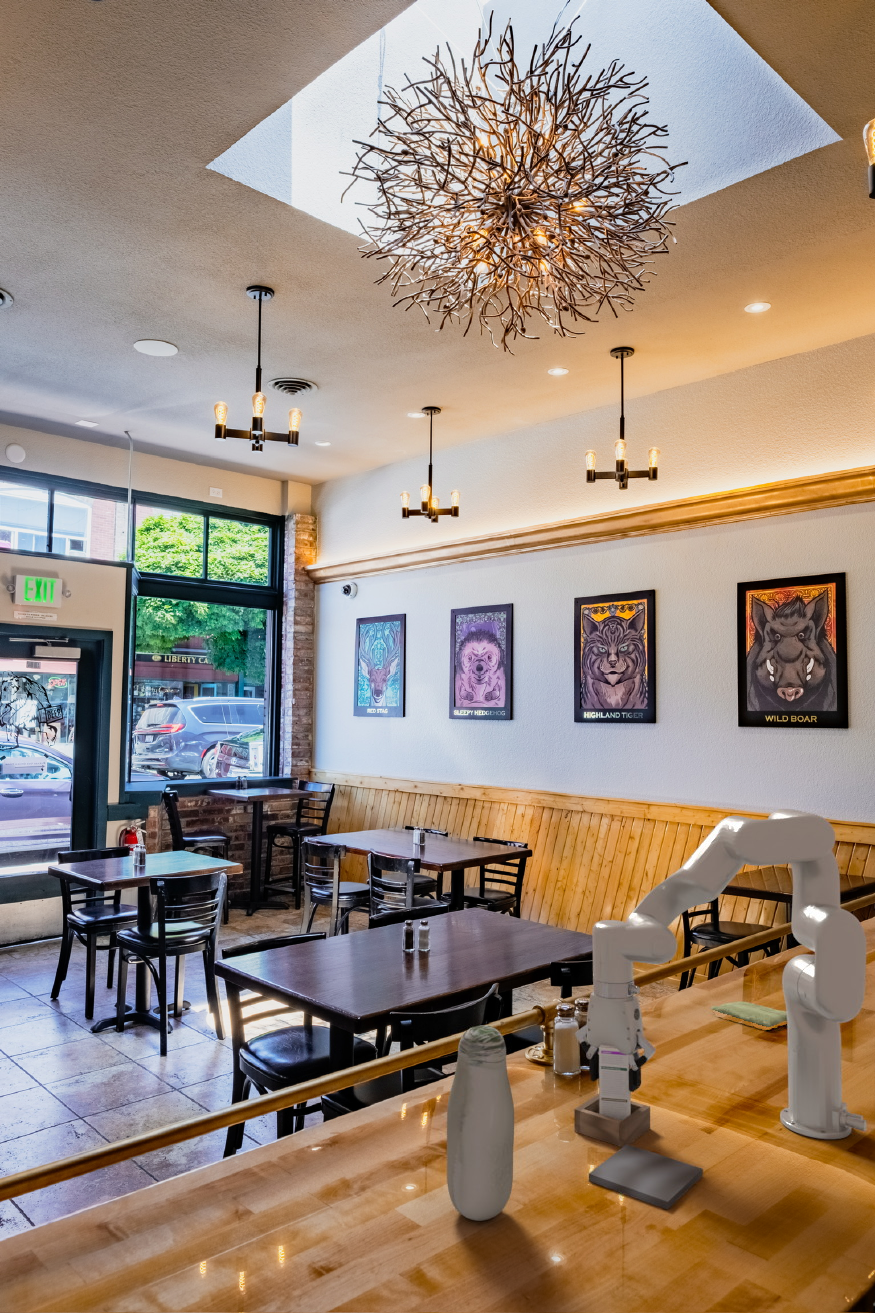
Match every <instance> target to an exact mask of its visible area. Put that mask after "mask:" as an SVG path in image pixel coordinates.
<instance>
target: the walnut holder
mask: <svg viewBox="0 0 875 1313" xmlns="http://www.w3.org/2000/svg"><path fill="white" fill-rule="evenodd" d="M573 1111H574V1119H573V1120H574V1121H573V1123H574V1128H573V1129H574V1130H573V1131H574V1132H575V1133H579V1134H582V1135H584V1136H586V1137H587V1136H588V1137H590V1138H593V1139H597V1140H599V1141H603V1142H606V1143H609V1144H612V1145H614V1146H618V1147H621V1148H623V1147H624V1146H625V1145H626V1144H630V1145H631V1144H632V1143H634V1142H635V1141H636V1140H637V1139H638V1137H639V1138H640V1137H641V1136H644V1134H645V1133H646V1132H648V1131H649V1130H651V1106H649V1105H646V1104H642V1103H639V1102H636V1101H632V1100H631V1115H630V1116H628V1117H627V1118H625V1119H624V1120H623V1121H621V1120H617V1119H614V1118H611V1117H608V1116H605V1115H601V1114H599V1093H597V1094H596V1095H594V1096H593V1097H591V1098H590V1099H588V1100H587V1101H585V1102H584V1103H582V1104H581V1105H579V1106H577V1107H576V1108H574V1110H573ZM648 1129H649V1130H648ZM633 1141H634V1142H633Z"/></svg>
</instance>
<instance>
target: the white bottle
mask: <svg viewBox="0 0 875 1313" xmlns="http://www.w3.org/2000/svg"><path fill="white" fill-rule="evenodd" d="M457 1047H458V1048H457V1049H458V1050H457V1060H456V1067H455V1072H454V1076H453V1081H452V1085H451V1087H450V1091H449V1095H448V1101H447V1109H446V1110H447V1111H446V1182H447V1190H448V1195H449V1198H450V1202H452V1203H451V1204H452V1205H453V1207H454V1208H455V1210H456V1211H457V1212H458V1213H459V1214H460V1215H461V1216H463V1217H464V1218H467V1219H469V1220H472V1221H477V1222H480V1221H486V1220H490V1219H492V1218H494V1217H497V1215H499V1214H500V1213H501V1212H502V1211H503V1210H504V1209H505V1207H506V1205H507V1204H508V1201H509V1199H510V1197H511V1193H512V1189H513V1181H514V1180H513V1179H514V1143H515V1106H514V1105H515V1104H514V1100H513V1094H512V1089H511V1085H510V1084H511V1083H510V1080H509V1076H508V1068H507V1067H508V1066H507V1047H506V1042H505V1039H504V1036H503V1035H502V1034H501V1032H500V1031H499V1030H498V1029H497V1028H495V1027H493V1026H491V1025H487V1024H486V1025H485V1024H484V1025H477V1026H472V1027H470V1028H469V1029H467V1030H466V1031H465V1032H464V1033H463V1034H462V1035H461V1038H460V1039H459V1043H458V1046H457Z"/></svg>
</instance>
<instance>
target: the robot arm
mask: <svg viewBox="0 0 875 1313" xmlns="http://www.w3.org/2000/svg"><path fill="white" fill-rule="evenodd" d="M835 844H836V833H835V830H834V828H833V826H832V824H831V823H830V822H829V821H828V820H827V819H826V818H824V817H823V816H820V815H818V814H815V813H810V812H806V811H802V810H796V809H790V808H781V809H777V810H775V811H773V812H772V813H771V814H770V815H769V816H768V817H767V819H754V818H751V817H745V816H742V815H741V816H739V815H731V816H730V815H729V816H726V817H725V818H723V819H722V820H720V821H719V822H718V824H716V825H715V827H714V828H713V829H712V830H711V832H710V833H709V834H708V835H707V836H706V838H705V839H704V840H703V841H702V842H701V843H700V845H699V846H698V847H697V848H696V849H695V851H694V852H693V853H692V854H691V856H689V858H688V859H687V860H686V861H685V862H684V864H683V865H682V866H680V868H679V869H678V870H677V871H675V872H673V873H672V874H670V875H669V876H668V877H667V878H666V879H664V880H663V881H661V882H660V883H659V884H657V885H656V886H655V887H654V888H652V889H651V890H650V891H649V892H648V893H647V894H646V895H645V896H644V898H643V899H642V900H640V902H639V903H638V905H637V906H636V907H635V908H634V909H633V911H632V912H631V913H630V914H629V916H628V917H627V919H626V921H622V920H617V919H606V920H599V921H597V922H595V923H594V925H593V926H592V934H591V935H592V982H593V984H592V986H593V987H592V989H593V990H592V992H591V993H590V996H589V1001H588V1004H587V1005H588V1006H587V1007H588V1008H587V1015H586V1024H585V1025H584V1026H582V1027H581V1028H580V1029H578V1030H576V1031H575V1033H574V1035H575V1037H576V1039H577V1040H578V1042H579V1044H580V1046H581V1048H582V1050H583V1051H584V1053H585V1054H586V1058H587V1059H588V1063H589V1064H588V1067H589V1068H588V1070H589V1072H588V1073H589V1075H590V1081H591V1082H595V1081H597V1080H599V1045H608V1046H613V1047H617V1049H618V1050H619V1051H620V1053H622V1054H625V1055H628V1060H629V1064H630V1069H629V1090H630V1091H631V1093H634V1092H636V1091H637V1090H638V1089H640V1087H641V1085H642V1068H641V1067H643V1066H644V1065H645V1064H646V1063H647V1062H649V1060H650V1059H651V1058H652V1057H653V1056H654V1054H655V1053H656V1048H655V1047H654V1045H652V1044H651V1042H650V1041H649V1040H648V1039H647V1038H646V1037H645V1035H644V1025H643V1017H642V1011H641V1005H640V1001H639V997H638V996H636V995H638V994H639V993H640V991H641V990H640V989H641V988H640V987H639V986H637V985H635V980H634V963H642V964H649V965H662V964H665V963H668V962H669V961H671V960H672V959H673V958H674V957H675V955H676V953H677V951H678V941H677V938H676V936H675V934H674V933H673V931H672V930H671V929H670V928H669V927H670V925H671V924H672V923H673V922H674V921H675V920H676V919H677V918H678V917H679V916H680V915H681V914H683V913H684V912H686V911H688V910H689V909H692V908H694V907H697V906H700V905H704V904H707V903H710V902H712V901H714V900H716V899H717V898H719V896H720V895H721V894H722V893H723V891H724V890H725V889H726V887H727V886H728V885H729V883H730V882H731V881H732V880H733V879H734V878H735V877H736V875H737V874H738V873H739V871H740V870H741V869H742V868H743V867H744V866H745V865H748V866H754V867H755V866H756V867H759V866H777V865H787V864H789V865H790V868H791V871H792V904H791V906H792V907H791V932H792V933H791V934H793V938H795V940H796V941H797V942H798V943H799V944H800V945H802V946H803V947H804V948H806V949H808V950H810V951H812V952H814V955H813V954H808V953H806V954H805V953H804V954H798V955H796V956H794V957H792V958H791V959H790V960H789V961H788V962H786V964H785V966H784V968H783V972H782V981H781V983H782V991H783V997H784V998H783V999H784V1002H785V1011H786V1012H787V1025H786V1027H787V1079H788V1080H787V1081H788V1082H787V1084H788V1085H787V1087H788V1090H787V1091H788V1107H785V1108H783V1109H782V1110H781V1111H780V1114H779V1115H780V1116H779V1118H780V1122H781V1123H782V1125H783V1126H784V1127H785V1128H787V1129H788V1130H790V1131H792V1132H794V1133H797V1134H799V1135H802V1136H805V1137H809V1138H815V1139H822V1140H837V1139H838V1140H839V1139H844V1138H846V1137H848V1136H849V1135H851V1134H852V1128H853V1129H855V1130H859V1131H862V1132H866V1131H867V1126H868V1125H867V1119H864V1117H863V1115H861V1114H856V1113H852V1112H850V1111H849V1110H847V1109H848V1108H847V1107H848V1106H847V1104H848V1103H846V1102H843V1095H842V1093H843V1090H842V1088H843V1087H842V1085H843V1084H842V1082H843V1080H842V1037H841V1036H842V1034H841V1025H840V1024H841V1023H847V1022H850V1021H851V1020H853V1019H854V1018H856V1016H858V1014H860V1013H859V1012H861V1009H862V1007H863V1003H864V1001H865V992H866V972H867V971H866V969H867V937H866V934H865V930H864V928H863V926H862V924H861V922H860V921H859V919H858V918H857V917H856V916H855V915H854V914H853V913H851V912H850V911H848V910H846V909H844V908H842V907H841V884H840V883H841V882H840V881H841V880H840V878H841V876H840V870H839V865H838V862H837V858H836V855H835V854H834V852H833V849H834V847H835ZM642 1049H643V1050H644V1051H643V1053H642V1055H641V1054H640V1052H639V1050H642Z"/></svg>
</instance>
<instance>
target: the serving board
mask: <svg viewBox="0 0 875 1313" xmlns="http://www.w3.org/2000/svg"><path fill="white" fill-rule="evenodd" d="M703 1171H704V1169H703V1167H700V1166H696V1165H693V1164H689V1163H687V1162H684V1161H681V1160H678V1159H675V1158H671V1157H668V1156H666V1155H662V1154H660V1153H657V1152H652V1151H650V1150H646V1149H644V1148H640V1147H638V1146H634V1145H631V1144H630V1145H629V1144H626V1145H625V1146H624V1147H621V1148H620V1149H619V1150H617V1151H616V1152H615V1153H614V1154H613V1155H611V1156H610V1157H608V1158H607V1159H606V1160H604V1161H603V1162H602V1163H600V1164H599V1165H598V1166H597V1167H595V1168H594V1169H593V1170H591V1171H590V1172H589V1173H588V1182H590V1183H592V1184H593V1183H594V1184H596V1185H599V1186H602V1187H604V1188H607V1189H609V1190H612V1191H615V1192H618V1193H621V1194H623V1195H626V1196H629V1197H631V1198H635V1199H637V1200H639V1201H643V1202H645V1203H648V1204H651V1205H654V1206H657V1207H659V1208H662V1209H664V1210H669V1209H670V1208H672V1207H673V1205H675V1204H676V1203H677V1201H679V1200H680V1199H681V1198H682V1197H683V1196H685V1194H686V1193H687V1192H688V1191H689V1190H690V1189H691V1188H692V1187H693V1186H694V1185H696V1183H697V1182H698V1181H699V1180H701V1178H702V1177H703V1175H704V1174H703Z"/></svg>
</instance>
